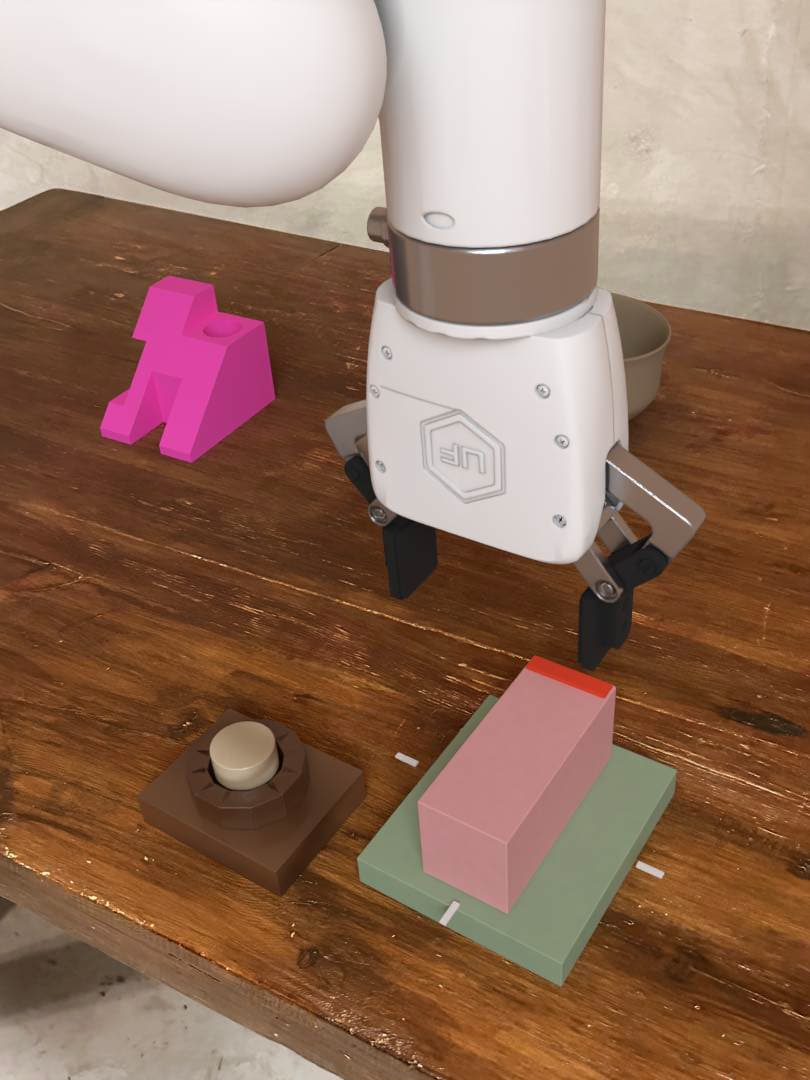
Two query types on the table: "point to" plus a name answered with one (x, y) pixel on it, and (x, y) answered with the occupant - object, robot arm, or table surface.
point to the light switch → (255, 807)
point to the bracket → (191, 372)
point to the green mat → (559, 882)
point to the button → (244, 755)
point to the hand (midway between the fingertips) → (503, 614)
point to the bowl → (641, 349)
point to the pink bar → (517, 782)
